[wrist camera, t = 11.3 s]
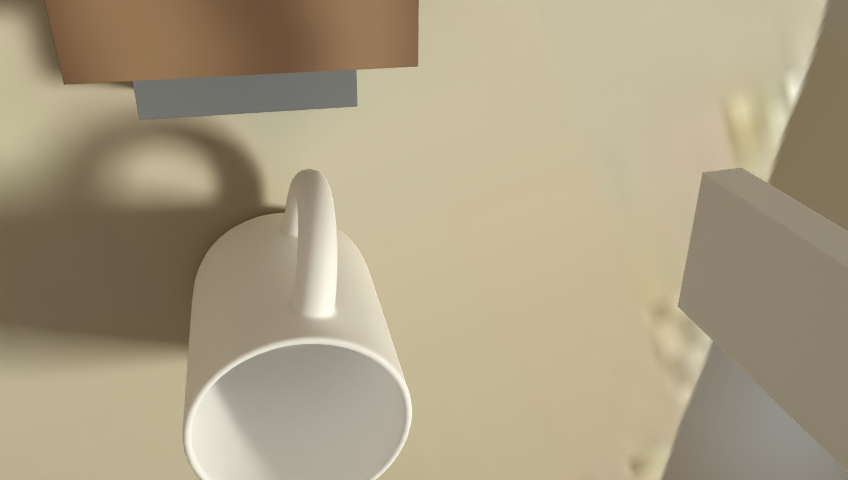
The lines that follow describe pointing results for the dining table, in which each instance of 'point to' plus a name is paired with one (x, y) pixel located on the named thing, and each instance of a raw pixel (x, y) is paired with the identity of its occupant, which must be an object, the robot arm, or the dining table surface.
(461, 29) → the dining table surface
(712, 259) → the robot arm
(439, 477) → the dining table surface
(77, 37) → the lid
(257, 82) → the grey flat block
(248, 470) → the mug
